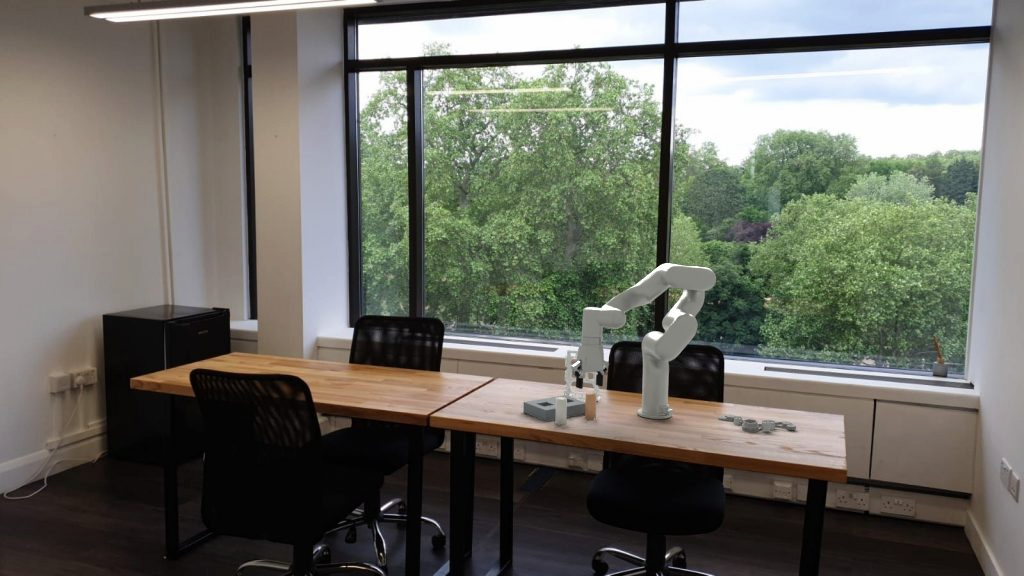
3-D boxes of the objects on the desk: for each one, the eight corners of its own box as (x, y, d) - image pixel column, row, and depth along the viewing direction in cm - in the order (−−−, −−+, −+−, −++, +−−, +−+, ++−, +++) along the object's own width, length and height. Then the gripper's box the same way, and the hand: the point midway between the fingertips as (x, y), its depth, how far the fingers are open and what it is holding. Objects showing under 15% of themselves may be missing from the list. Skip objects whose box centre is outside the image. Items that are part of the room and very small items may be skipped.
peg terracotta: (598, 418, 264) (598, 394, 263) (589, 419, 262) (590, 395, 261) (591, 415, 267) (591, 391, 266) (582, 417, 265) (583, 393, 264)
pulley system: (789, 441, 242) (798, 428, 255) (789, 427, 241) (798, 415, 254) (709, 430, 257) (721, 419, 269) (709, 418, 256) (721, 406, 269)
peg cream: (568, 423, 256) (569, 399, 255) (559, 425, 254) (560, 400, 253) (561, 421, 259) (562, 396, 258) (553, 422, 257) (553, 398, 256)
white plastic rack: (559, 402, 286) (560, 353, 284) (568, 394, 299) (569, 347, 297) (595, 406, 282) (596, 356, 280) (602, 398, 295) (603, 350, 293)
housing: (587, 413, 270) (588, 402, 270) (545, 421, 259) (545, 410, 259) (564, 405, 282) (564, 395, 281) (523, 412, 270) (523, 401, 270)
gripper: (602, 338, 270) (600, 382, 271) (566, 340, 260) (564, 386, 261) (616, 341, 264) (613, 386, 265) (580, 344, 254) (577, 391, 255)
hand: (589, 386), depth 263 cm, fingers open, 9 cm apart
